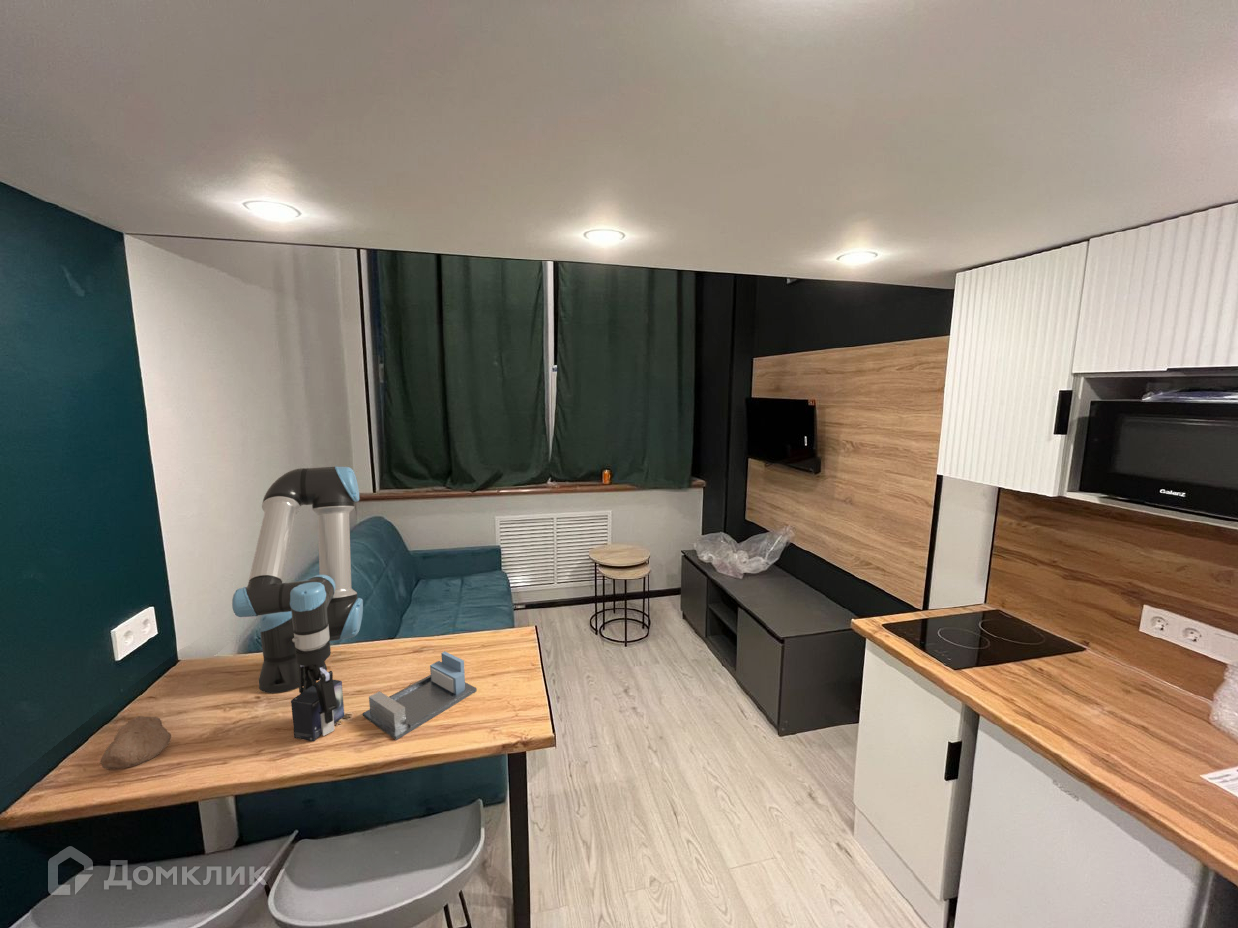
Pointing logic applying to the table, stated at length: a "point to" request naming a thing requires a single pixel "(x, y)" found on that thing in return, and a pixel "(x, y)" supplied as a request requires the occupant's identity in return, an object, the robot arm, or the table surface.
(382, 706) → the vise
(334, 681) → the small box
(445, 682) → the sliding jaw
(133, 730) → the stone
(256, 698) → the table surface
